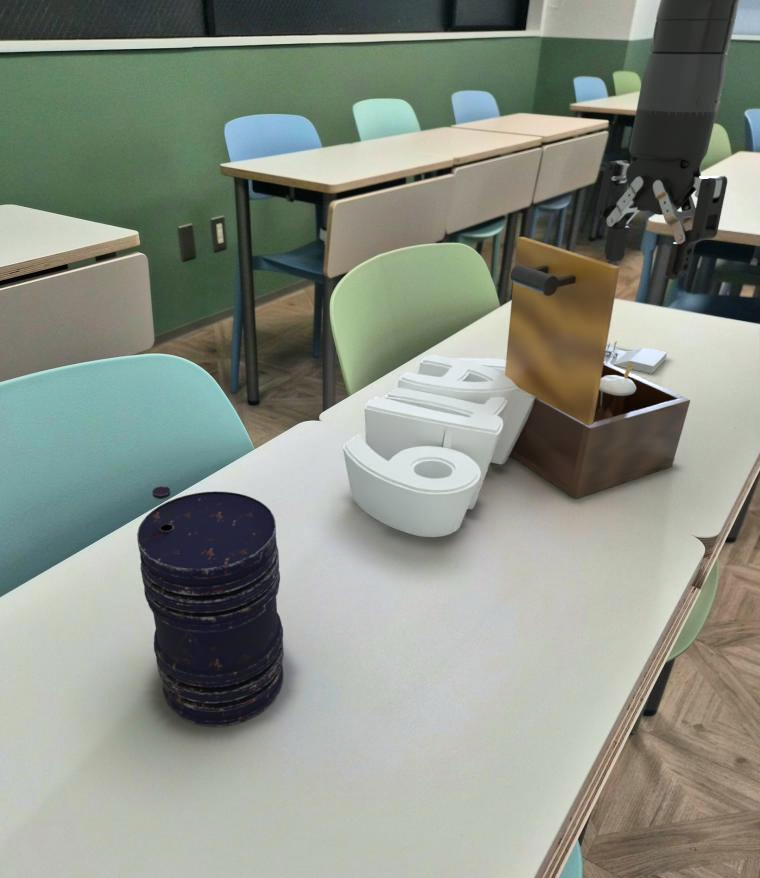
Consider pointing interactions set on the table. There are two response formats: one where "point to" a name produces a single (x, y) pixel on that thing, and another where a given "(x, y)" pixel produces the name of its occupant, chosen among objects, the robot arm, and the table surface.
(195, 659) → the navy speckled cylinder
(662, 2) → the robot arm
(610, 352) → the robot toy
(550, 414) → the brown wooden box
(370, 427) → the white letter sign
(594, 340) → the lid
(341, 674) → the table surface
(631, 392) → the milkshake
